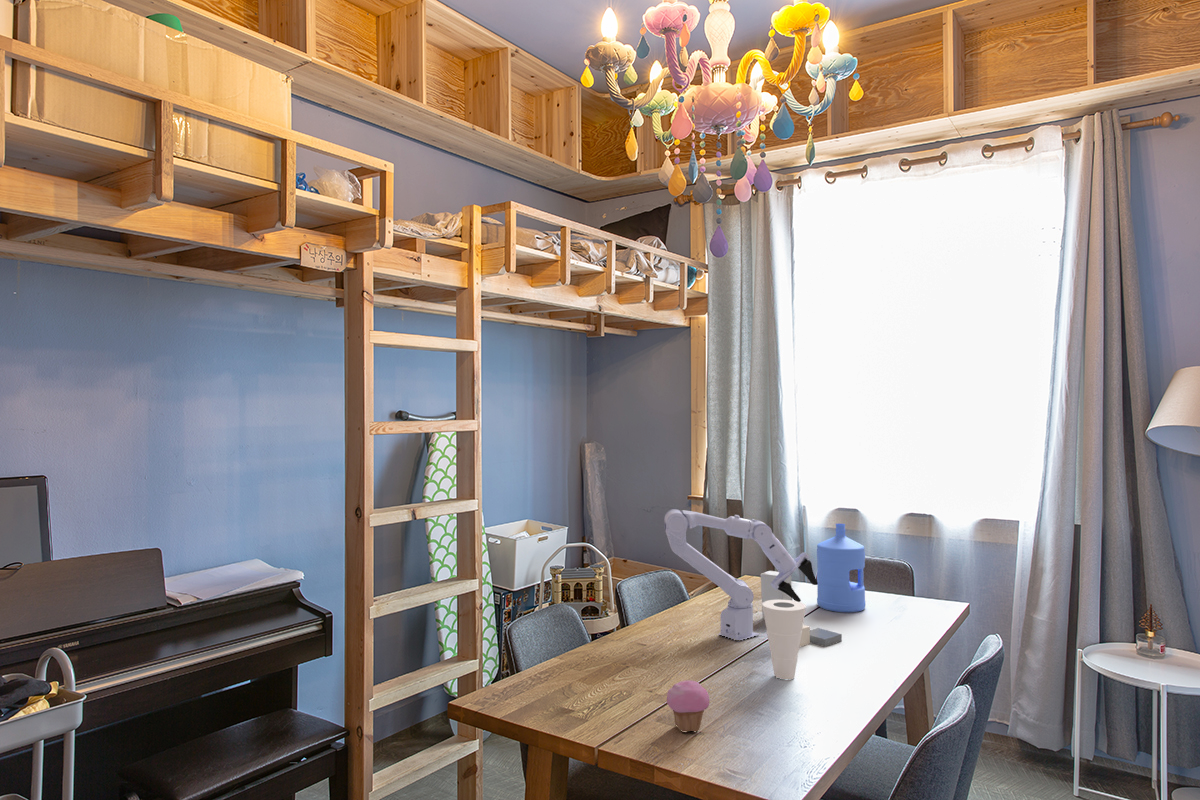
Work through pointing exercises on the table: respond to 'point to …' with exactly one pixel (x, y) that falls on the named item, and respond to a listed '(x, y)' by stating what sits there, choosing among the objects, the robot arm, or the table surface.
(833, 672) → the table surface
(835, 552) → the water jug
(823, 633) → the base
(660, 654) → the table surface
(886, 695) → the table surface
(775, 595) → the skincare box
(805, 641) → the block
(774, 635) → the cup
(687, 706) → the cupcake
